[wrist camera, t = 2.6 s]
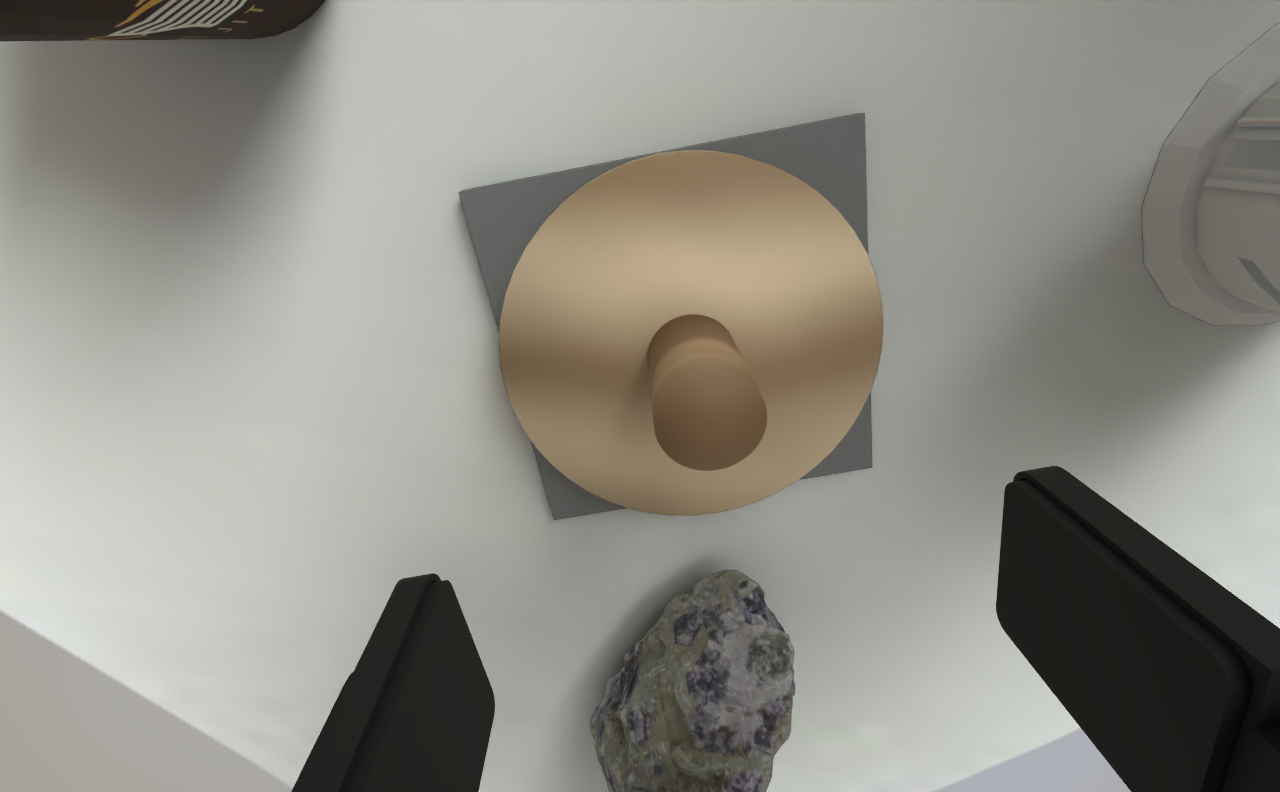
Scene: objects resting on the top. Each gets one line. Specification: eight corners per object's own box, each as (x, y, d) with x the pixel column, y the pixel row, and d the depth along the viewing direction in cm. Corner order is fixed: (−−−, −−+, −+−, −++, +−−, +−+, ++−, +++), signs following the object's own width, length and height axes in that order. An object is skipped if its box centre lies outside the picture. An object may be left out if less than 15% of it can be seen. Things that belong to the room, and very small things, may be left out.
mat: (463, 190, 18) (458, 192, 18) (857, 113, 18) (864, 113, 17) (555, 510, 23) (554, 519, 23) (866, 459, 23) (872, 467, 22)
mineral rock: (730, 525, 24) (795, 774, 15) (882, 663, 27) (1012, 935, 18) (514, 689, 27) (459, 972, 18) (673, 793, 31) (693, 1076, 22)
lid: (459, 191, 18) (391, 219, 13) (864, 113, 17) (969, 109, 12) (553, 519, 23) (533, 636, 18) (871, 467, 22) (947, 572, 17)
